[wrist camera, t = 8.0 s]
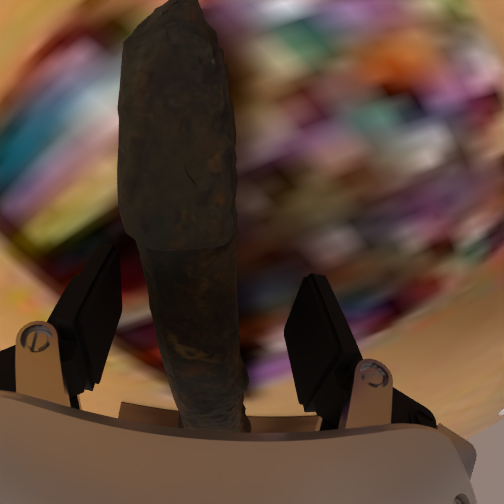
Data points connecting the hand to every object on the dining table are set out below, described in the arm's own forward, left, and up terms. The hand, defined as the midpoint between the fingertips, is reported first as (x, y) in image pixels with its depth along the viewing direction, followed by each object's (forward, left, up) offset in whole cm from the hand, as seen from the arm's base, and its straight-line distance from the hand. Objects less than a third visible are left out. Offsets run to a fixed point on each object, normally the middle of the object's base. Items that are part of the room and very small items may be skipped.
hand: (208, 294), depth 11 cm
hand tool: (+1, 0, -1) cm, 2 cm away
